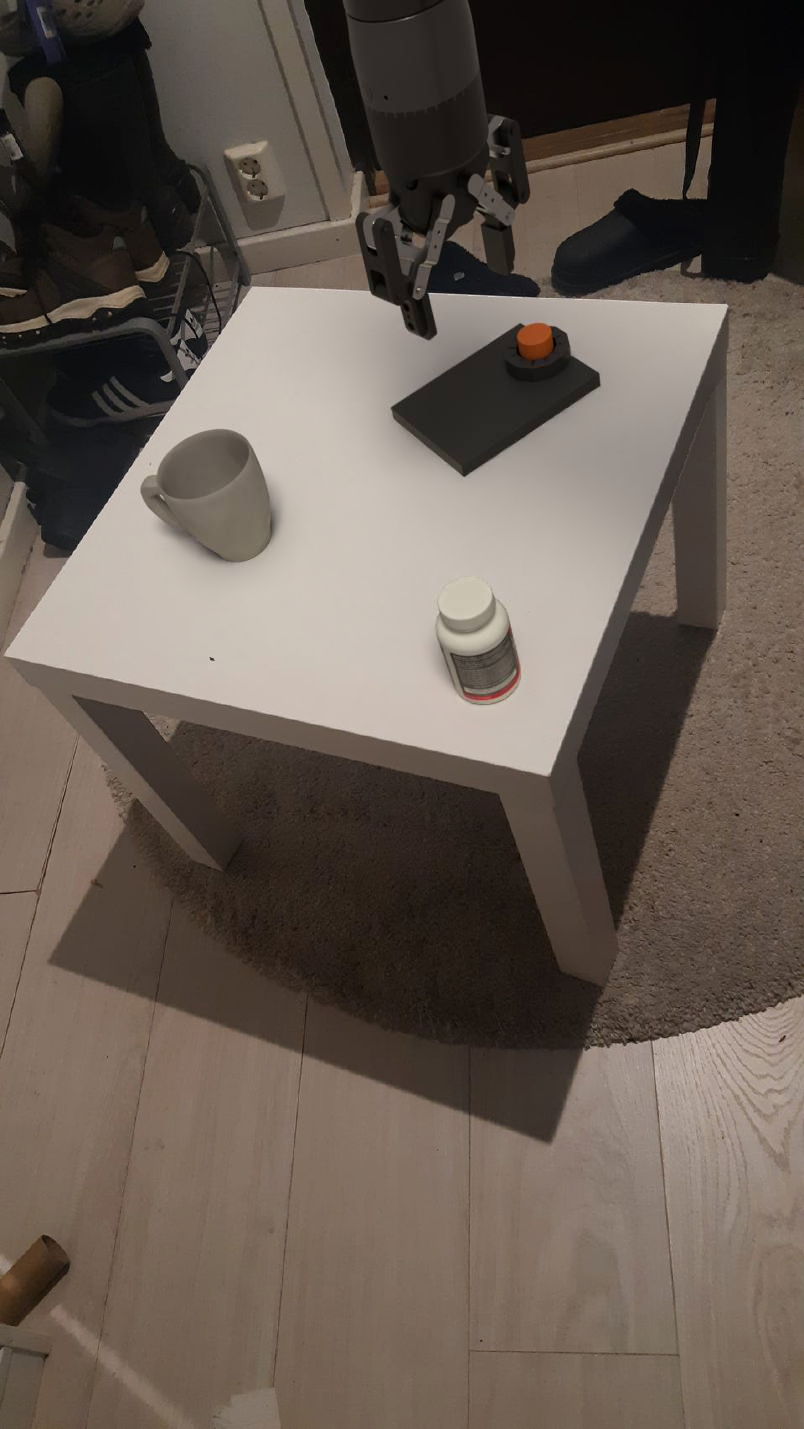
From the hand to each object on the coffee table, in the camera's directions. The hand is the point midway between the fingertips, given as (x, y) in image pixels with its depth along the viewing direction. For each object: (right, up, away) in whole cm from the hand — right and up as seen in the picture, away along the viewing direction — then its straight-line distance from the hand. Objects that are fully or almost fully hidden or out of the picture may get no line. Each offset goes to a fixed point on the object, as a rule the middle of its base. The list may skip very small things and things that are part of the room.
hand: (463, 302), depth 74 cm
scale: (+4, -1, +20) cm, 20 cm away
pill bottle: (+2, -28, +2) cm, 29 cm away
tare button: (+8, +3, +18) cm, 20 cm away
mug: (-21, -15, +18) cm, 31 cm away
